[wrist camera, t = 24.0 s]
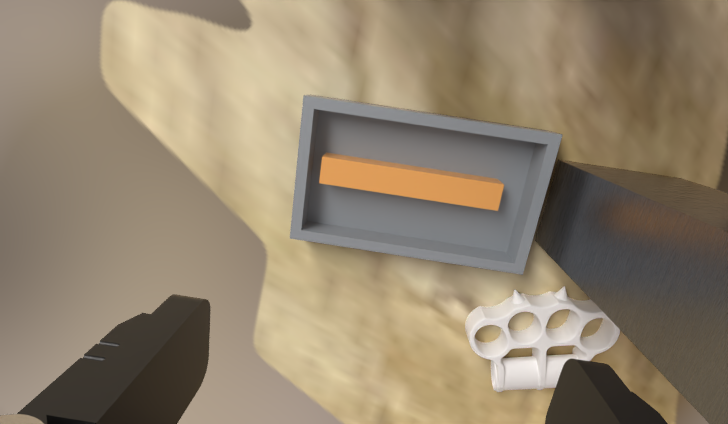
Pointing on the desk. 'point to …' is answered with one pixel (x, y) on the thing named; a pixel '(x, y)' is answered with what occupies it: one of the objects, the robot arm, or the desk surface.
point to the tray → (412, 215)
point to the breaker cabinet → (650, 268)
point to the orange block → (411, 181)
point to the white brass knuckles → (538, 338)
